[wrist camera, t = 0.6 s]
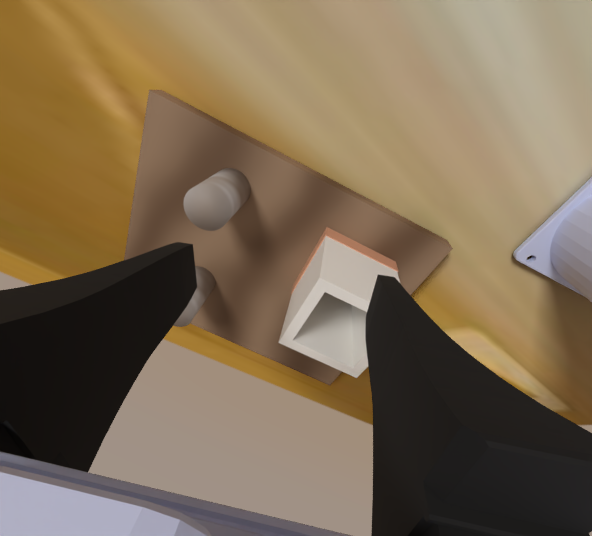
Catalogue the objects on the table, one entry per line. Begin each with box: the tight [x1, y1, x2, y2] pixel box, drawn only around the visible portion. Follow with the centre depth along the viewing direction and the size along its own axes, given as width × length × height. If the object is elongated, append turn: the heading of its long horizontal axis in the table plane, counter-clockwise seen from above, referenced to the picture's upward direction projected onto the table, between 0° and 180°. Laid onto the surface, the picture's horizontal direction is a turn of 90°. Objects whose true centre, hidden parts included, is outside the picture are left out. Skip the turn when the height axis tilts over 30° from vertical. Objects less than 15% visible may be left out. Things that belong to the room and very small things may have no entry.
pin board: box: [124, 90, 453, 385], centre depth 20 cm, size 20×16×5 cm
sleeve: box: [278, 227, 400, 378], centre depth 18 cm, size 5×5×6 cm
